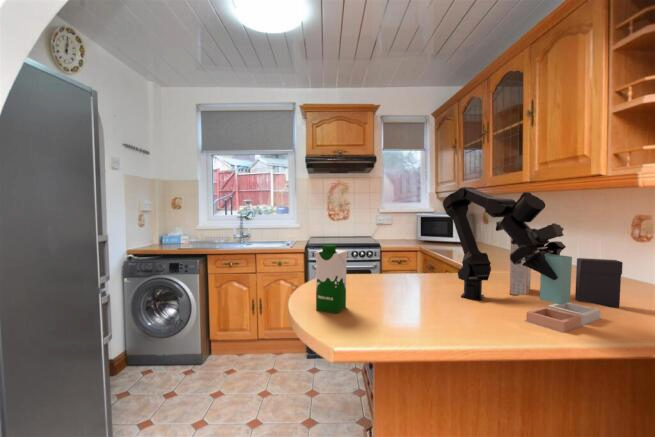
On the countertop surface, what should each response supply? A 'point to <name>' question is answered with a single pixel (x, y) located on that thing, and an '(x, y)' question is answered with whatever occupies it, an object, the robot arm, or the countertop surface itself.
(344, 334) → the countertop surface
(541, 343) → the countertop surface
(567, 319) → the organiser
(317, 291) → the milk carton
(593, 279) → the black box
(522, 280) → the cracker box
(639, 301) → the countertop surface
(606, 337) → the countertop surface
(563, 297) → the plug
